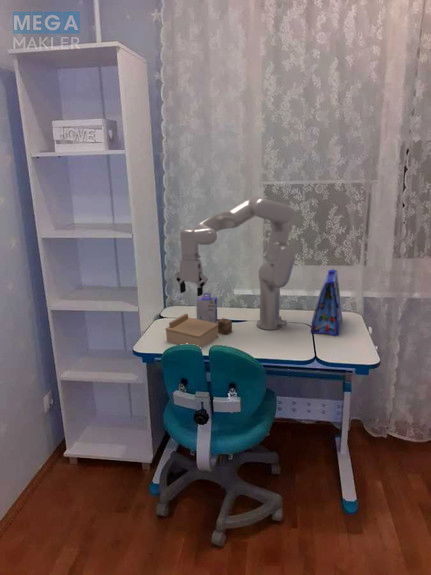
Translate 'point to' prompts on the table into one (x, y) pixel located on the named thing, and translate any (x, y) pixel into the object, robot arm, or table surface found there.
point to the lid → (191, 326)
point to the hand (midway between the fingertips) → (191, 293)
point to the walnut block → (224, 326)
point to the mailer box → (192, 338)
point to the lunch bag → (328, 307)
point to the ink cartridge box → (207, 308)
